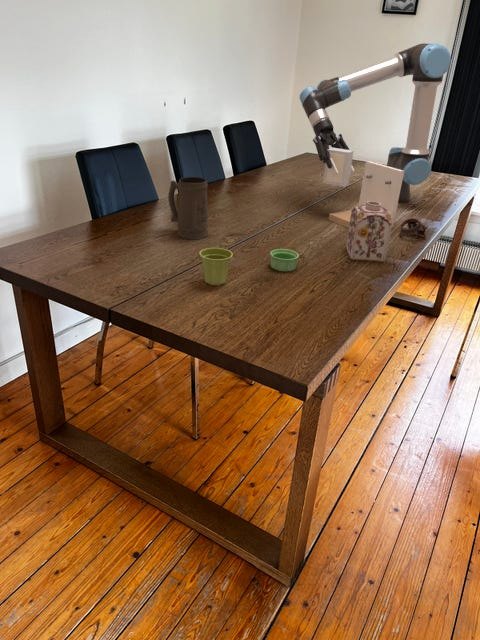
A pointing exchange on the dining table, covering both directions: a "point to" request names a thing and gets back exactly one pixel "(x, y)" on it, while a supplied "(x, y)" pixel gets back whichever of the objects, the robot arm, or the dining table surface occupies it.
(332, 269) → the dining table surface
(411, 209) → the dining table surface
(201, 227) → the beer stein
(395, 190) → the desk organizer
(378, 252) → the decorative jar
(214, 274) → the plant pot
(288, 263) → the ramekin
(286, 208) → the dining table surface
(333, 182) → the white block
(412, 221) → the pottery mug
